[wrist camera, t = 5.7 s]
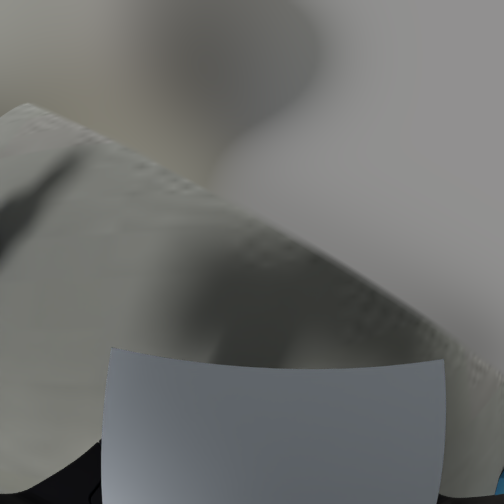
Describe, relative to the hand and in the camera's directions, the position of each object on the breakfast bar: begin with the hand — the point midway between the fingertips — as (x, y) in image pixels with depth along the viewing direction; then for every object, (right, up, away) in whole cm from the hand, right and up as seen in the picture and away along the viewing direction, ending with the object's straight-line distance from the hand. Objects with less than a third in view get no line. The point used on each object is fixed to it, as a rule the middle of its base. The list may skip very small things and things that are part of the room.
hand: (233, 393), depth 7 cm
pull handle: (-1, -8, +4) cm, 9 cm away
